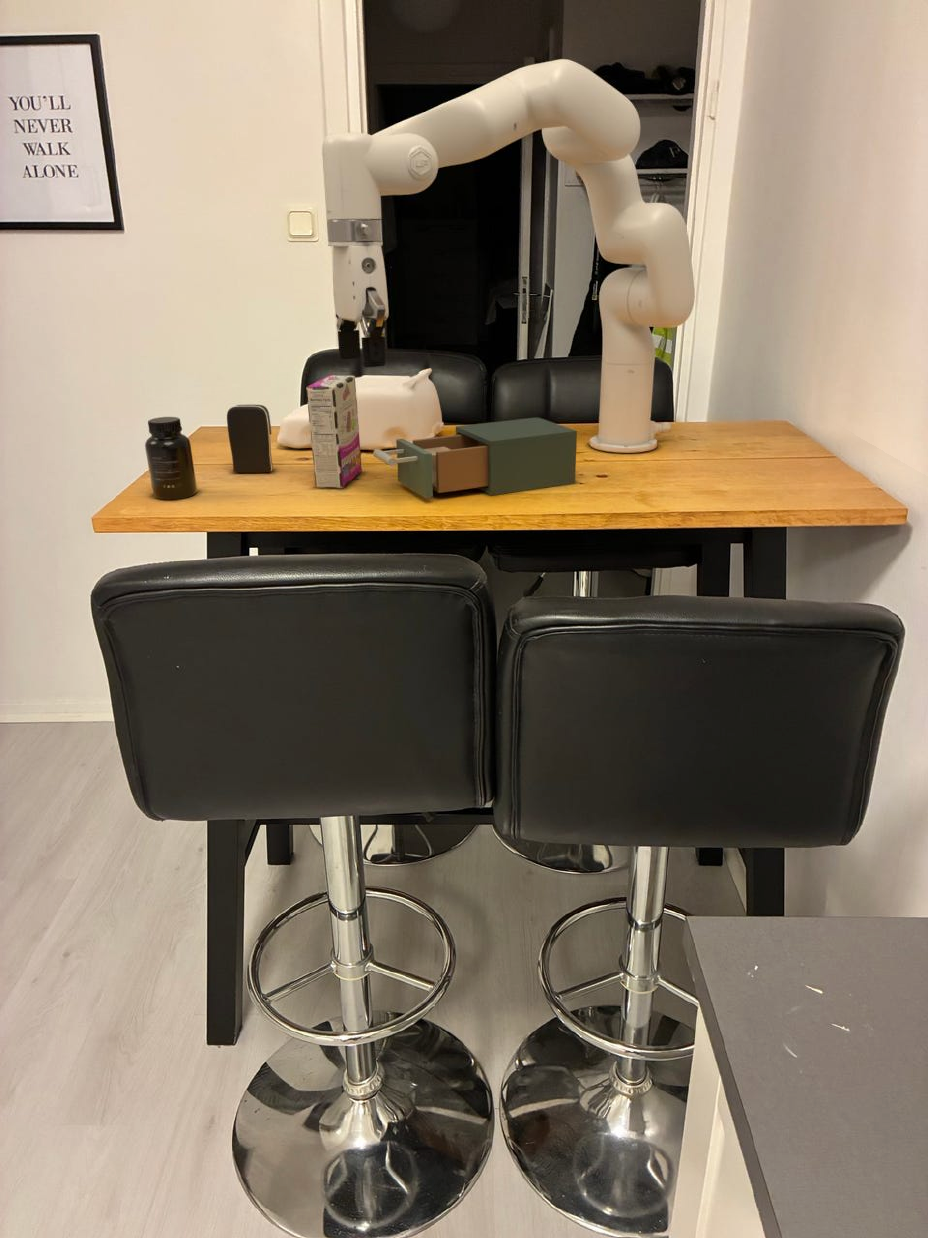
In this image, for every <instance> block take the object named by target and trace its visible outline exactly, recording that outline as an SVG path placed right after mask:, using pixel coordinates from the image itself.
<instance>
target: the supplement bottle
mask: <svg viewBox="0 0 928 1238" xmlns="http://www.w3.org/2000/svg"><path fill="white" fill-rule="evenodd" d="M147 425H148V433H149V434H150V435H151V436H150V437H148V438H147V439H146V440H145V443H144V448H145V455H146V460H147V467H148V472H149V479H150V484H151V489H152V494H153V496H154V497H155V498H156V499H158V500H166V501H174V500H182V499H187V498H190V497H192V496H194V495H195V494H196V493H197V491H198V486H197V478H196V472H195V468H194V467H195V466H194V458H193V452H192V446H191V440H190V439H189V437H187V436H186V435H185V434H183V433H181V432H182V431H183V426H182V424H181V418H180V417H178V416H161V417H155V418H150V419H149V420H148V421H147Z"/></svg>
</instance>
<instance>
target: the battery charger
mask: <svg viewBox="0 0 928 1238" xmlns="http://www.w3.org/2000/svg"><path fill="white" fill-rule="evenodd" d="M270 417H271V416H270V412H269V410H268V408H267V407H266V406H265V405H263V404H236V405H234V406H231V407H230V408H229V409H228V410H227V412H226V425H227V433H228V440H229V447H230V452H231V459H232V471H233V473H242V474H243V473H245V474H247V473H248V474H249V473H250V474H254V473H255V474H257V473H258V474H259V473H260V474H261V473H271V472H272V471H273V469H274V467H273V466H274V465H273V459H272V458H273V457H272V447H271V445H272V443H271V435H272V424H271V418H270Z"/></svg>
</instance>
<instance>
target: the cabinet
mask: <svg viewBox="0 0 928 1238" xmlns="http://www.w3.org/2000/svg"><path fill="white" fill-rule="evenodd" d="M460 434H463V435H466V436H468V437H470V438H473V439H475V440H477V441H480V442H482V443H484V444H486V445H489V446H488V486H485V487H478V488H476V489H478V490H479V491H481V492H483V493H485V494H487V495H489V496H491V497H492V496H497V495H505V494H511V493H517V492H525V491H532V490H538V489H545V488H552V487H559V486H567V485H573V484H576V472H577V469H576V468H577V443H578V442H577V441H578V430H576V429H573V428H570V427H567V426H564V425H561V424H558V423H556V422H553V421H549V420H547V419H544V418H541V417H528V418H518V419H509V420H502V421H501V420H500V421H493V422H483V423H476V424H475V423H474V424H466V425H457V426H455V435H460Z"/></svg>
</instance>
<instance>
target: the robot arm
mask: <svg viewBox="0 0 928 1238" xmlns="http://www.w3.org/2000/svg"><path fill="white" fill-rule="evenodd" d="M539 130H541V135H542V139H543V144H544V146H545V148H546V149H547V151H548V152H549V154H550V155H552V156H553V158H554V159H556V160H558V161H559V162H562V163H565V164H566V165H568V166H570V167H571V168H572V169H573V170H574V171H575V172H576V173H577V175H578V176H579V177H580V178H581V180H582V182H583V184H584V187H585V189H586V193H587V198H588V202H589V207H590V212H591V218H592V223H593V229H594V234H595V238H596V244H597V247H598V252H599V254H600V255H601V257H602V258H603V259H604V260H605V261H607V262H609V263H613V264H619V265H639V266H645V267H623V268H618V269H616V270H614V271H612V272H611V273H609V274H608V275H607V276H606V277H605V278H604V280H603V282H602V283H601V286H600V290H599V295H598V304H599V312H600V320H601V329H602V352H601V353H602V355H601V373H600V391H599V392H600V393H599V394H600V395H599V416H598V434H596V435H594V436H592V437H590V438H589V446H590V447H591V448H593V449H596V450H598V451H603V452H609V453H617V454H618V453H621V454H630V453H632V454H633V453H644V452H649V451H652V450H654V449H656V448H657V447H658V440H657V439H656V438H655V436H657V435H658V434H665V433H669V432H670V431H671V428H672V426H671V424H670V422H668V421H665V422H659V423H657V422H656V421H654V420H651V418H652V404H653V403H652V401H653V388H654V377H655V376H654V374H655V362H656V361H655V360H656V345H655V340H654V337H653V334H652V331H651V329H650V327H651V328H652V327H653V328H659V329H660V328H661V329H662V328H663V329H671V328H676V327H679V326H682V325H683V324H684V323H686V322H687V320H689V318H690V316H691V314H692V312H693V309H694V305H695V297H696V296H695V295H696V294H695V291H696V289H695V288H696V287H695V279H694V278H695V277H694V271H693V264H692V256H691V254H692V253H691V246H690V240H689V234H688V233H689V232H688V228H687V223H686V222H685V221H686V220H685V219H684V217H683V215H682V214H681V212H680V211H679V210H678V209H677V207H675V206H673V205H671V204H670V203H665V202H645V201H644V199H643V196H642V192H641V187H640V182H639V177H638V173H637V168H636V165H635V162H634V160H633V158H632V156H631V155H630V154H631V153H632V152H633V151H634V150H635V148H636V146H637V144H638V143H639V140H640V136H641V119H640V116H639V112H638V111H637V108H636V107H635V106H634V104H633V102H631V100H630V99H628V97H626V96H625V95H624V94H623V93H622V92H620V91H618V89H616V88H615V87H614V86H612V85H611V84H609V83H608V82H607V81H605V80H604V79H603V78H602V77H600V76H599V75H597V74H596V73H594V72H593V71H592V70H590V69H589V68H587V67H585V66H584V65H582V64H580V63H578V62H576V61H573V60H571V59H566V58H560V59H555V60H554V59H553V60H550V61H545V62H540V63H539V62H538V63H534V64H529V65H526V66H523V67H519V68H517V69H515V70H513V71H511V72H509V73H507V74H504V75H502V76H501V77H498V78H496V79H494V80H492V81H490V82H488V83H486V84H484V85H482V86H480V87H478V88H476V89H473V90H471V91H469V92H467V93H465V94H462V95H460V96H458V97H455V98H453V99H451V100H448V101H447V102H446V101H445V102H443V103H441V104H439V105H437V106H435V107H433V108H431V109H428V110H427V111H425V112H424V111H423V112H421V113H418V114H416V115H414V116H411V117H408V118H407V119H404V120H402V121H400V122H397V123H394V124H393V125H390V126H388V127H386V128H384V129H382V130H379V131H377V132H376V133H374V134H372V135H371V134H369V133H366V132H365V133H363V132H335V133H330V134H328V135H326V136H325V137H324V138H323V140H322V144H321V150H322V151H321V155H322V170H323V187H324V198H325V199H324V202H325V217H326V232H327V233H326V234H327V247H332V289H333V304H334V305H333V306H334V311H335V318H336V320H337V321H336V330H337V344H338V357H339V359H341V360H352V359H360V358H361V355H362V366H363V367H364V368H377V367H384V366H385V365H386V348H385V337H386V330H385V326H386V323H387V322H386V320H387V319H388V318H389V313H390V312H389V298H388V286H387V275H386V268H385V261H384V255H383V249H382V246H383V244H384V243H383V223H382V221H383V220H382V199H381V197H382V196H403V195H405V196H406V195H407V196H408V195H414V194H418V193H420V192H423V191H425V190H426V189H428V188H429V187H430V186H432V184H433V182H434V181H435V179H436V178H437V174H438V171H439V169H440V168H444V167H450V166H456V165H462V164H463V165H464V164H466V163H471V162H474V161H477V160H480V159H484V158H486V157H488V156H490V155H492V154H494V153H496V152H497V151H499V150H500V149H503V148H505V147H506V146H508V145H510V144H512V143H515V142H517V141H518V140H520V139H522V138H525V137H526V136H528V135H530V134H532V133H535V132H536V131H539ZM358 324H360V328H361V331H362V333H363V336H362V337H361V338H360V329H357V328H358Z"/></svg>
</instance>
